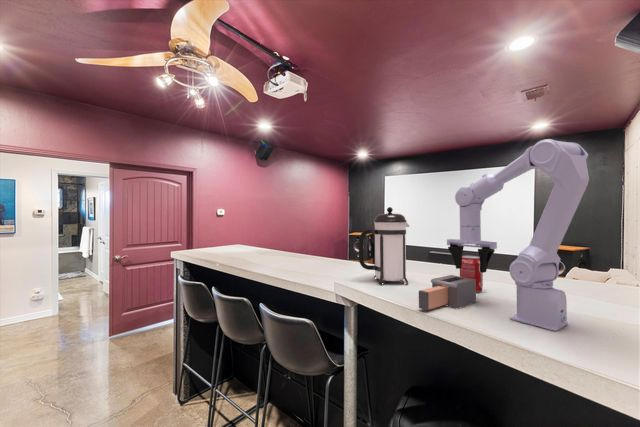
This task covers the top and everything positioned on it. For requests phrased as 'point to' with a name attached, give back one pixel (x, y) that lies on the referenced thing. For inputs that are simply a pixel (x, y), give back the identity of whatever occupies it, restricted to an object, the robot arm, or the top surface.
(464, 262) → the soda can
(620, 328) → the top surface
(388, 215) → the coffee press
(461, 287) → the box
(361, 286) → the top surface
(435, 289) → the orange and gray block
